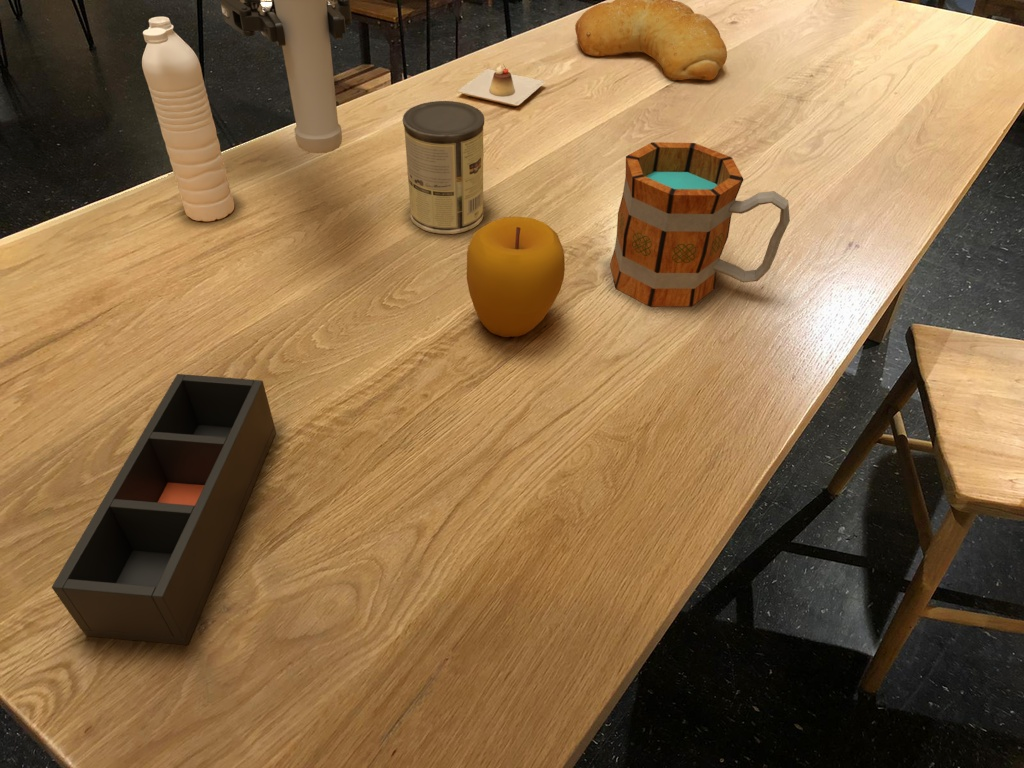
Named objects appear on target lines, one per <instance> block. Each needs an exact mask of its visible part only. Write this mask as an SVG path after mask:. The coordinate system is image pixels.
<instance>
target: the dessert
mask: <svg viewBox="0 0 1024 768" xmlns="http://www.w3.org/2000/svg"><path fill="white" fill-rule="evenodd" d="M502 65H503V66H504V68H503V67H502ZM502 65H498V66H497V67H496V68H495V69H491V68H486V69H484V70H483V71H481V73H479V74H478V75H476V76H475V77H474V78H473V79H471V80H469V81H468V82H467V83H465V84H464V85H463V86H462V87H460V88H459V89H458V90H457V91H456V92H457V93H459V94H462V95H464V96H467V97H471V98H475V99H480V100H483V101H488V102H493V103H497V104H501V105H506V106H511V107H518V106H520V105H521V104H522V103H523V102H524V101H525V100H527V99H528V98H529V97H530V96H532V94H534V93H535V92H536V91H537V90H538V89H539V88H541V87H542V86H543V85H544V84H545V83H546V82H547V81H546V80H542V79H537V78H533V77H528V76H524V75H519V74H514V73H511V72H510V71H509V69H508V68H506V67H505V64H504V63H503V64H502Z"/></svg>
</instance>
